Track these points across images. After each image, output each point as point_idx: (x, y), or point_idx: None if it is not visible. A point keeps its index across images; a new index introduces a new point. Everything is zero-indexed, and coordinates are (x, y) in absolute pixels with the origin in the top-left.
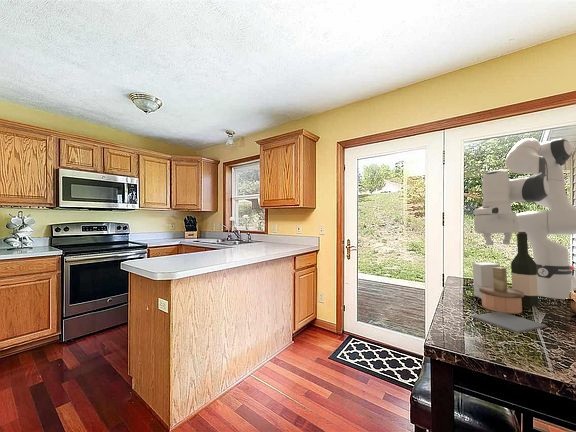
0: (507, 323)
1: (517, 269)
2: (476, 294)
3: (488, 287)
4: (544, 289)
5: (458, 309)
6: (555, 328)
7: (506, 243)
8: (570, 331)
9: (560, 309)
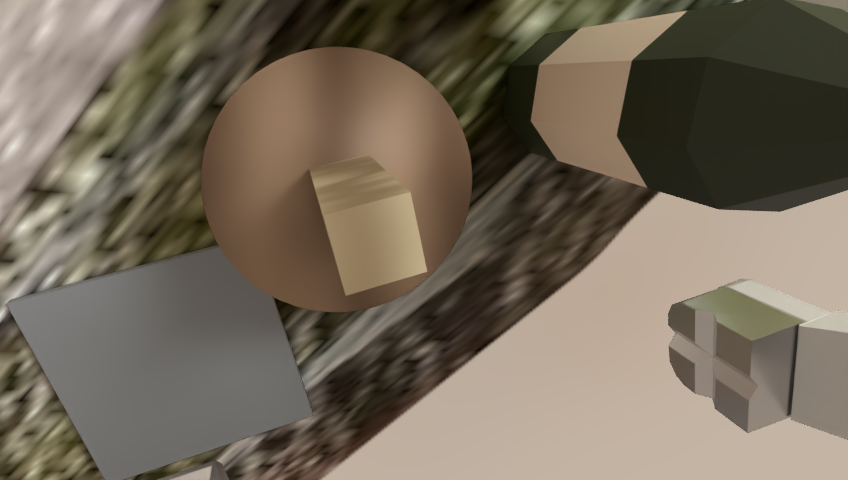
0: (138, 406)
1: (646, 134)
2: None
3: (334, 85)
4: (815, 3)
5: (12, 151)
6: (333, 422)
7: (684, 364)
8: (359, 445)
9: (608, 212)
